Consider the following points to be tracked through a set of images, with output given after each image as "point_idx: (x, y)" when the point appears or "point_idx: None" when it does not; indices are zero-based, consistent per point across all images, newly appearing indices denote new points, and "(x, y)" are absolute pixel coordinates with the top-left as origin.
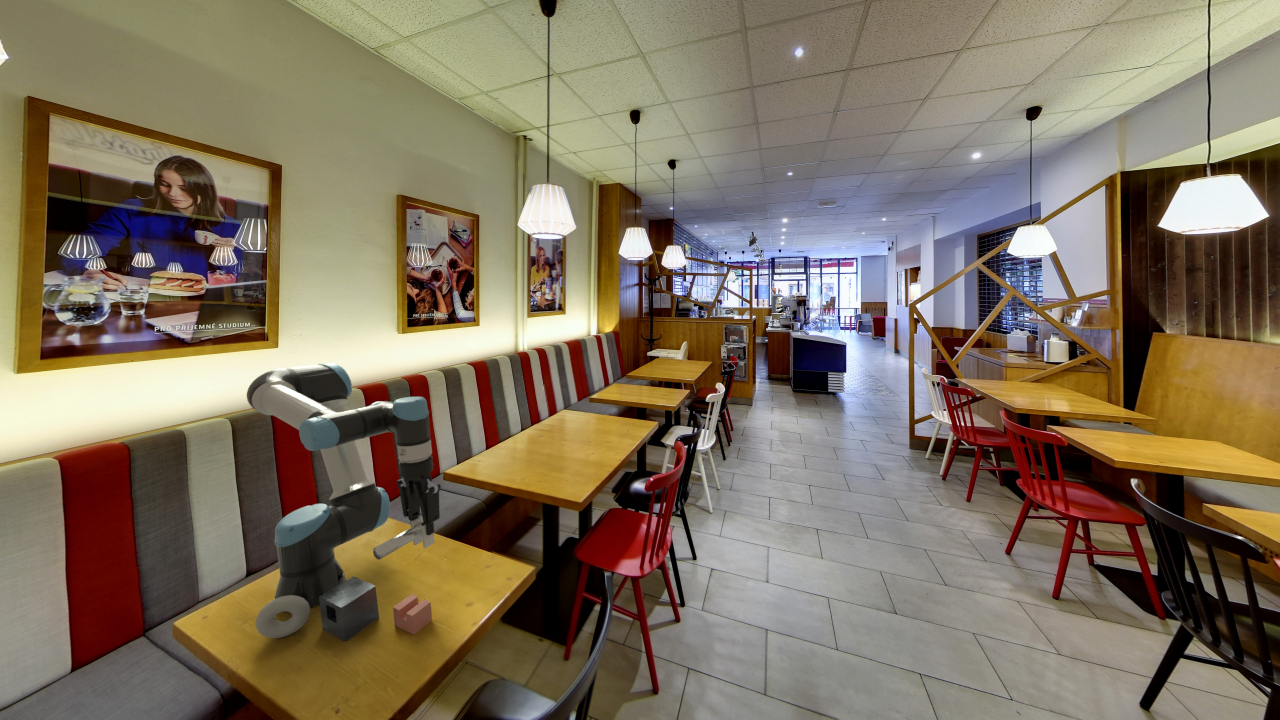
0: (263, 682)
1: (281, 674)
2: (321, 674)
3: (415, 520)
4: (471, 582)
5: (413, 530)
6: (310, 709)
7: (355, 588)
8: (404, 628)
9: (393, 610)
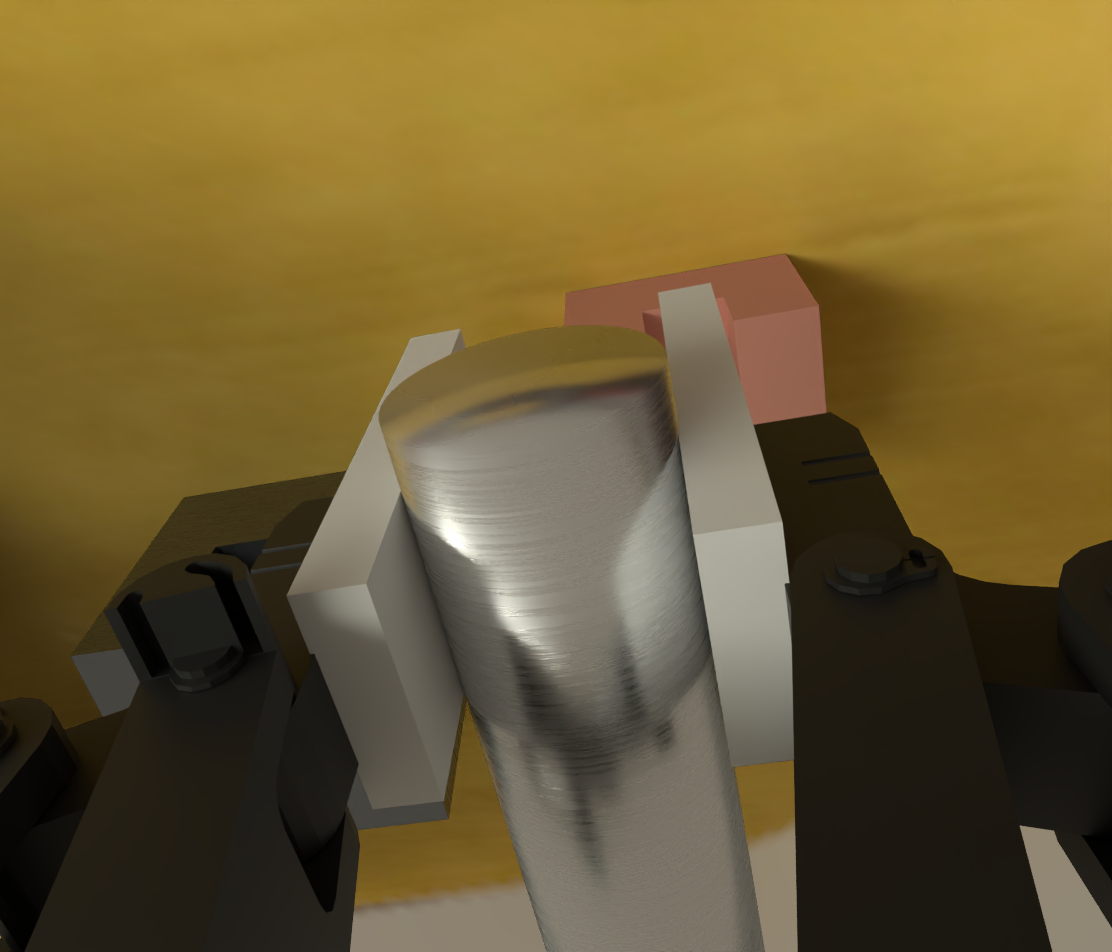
0: (435, 882)
1: (448, 840)
2: None
3: (404, 743)
4: None
5: (687, 829)
6: (782, 832)
7: None
8: None
9: None
